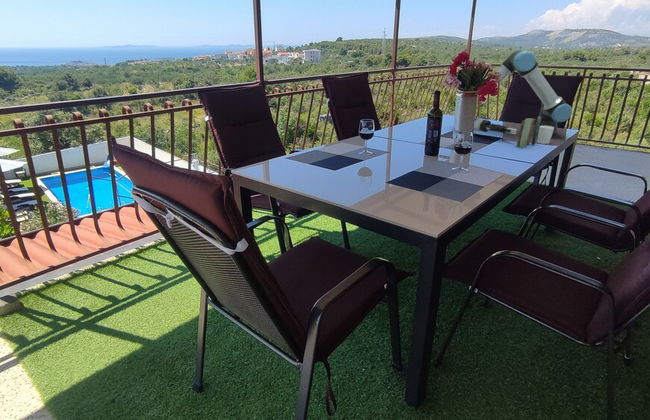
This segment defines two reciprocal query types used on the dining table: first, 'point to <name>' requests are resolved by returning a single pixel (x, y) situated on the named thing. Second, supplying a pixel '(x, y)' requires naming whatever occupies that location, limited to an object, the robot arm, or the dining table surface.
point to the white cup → (545, 134)
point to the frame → (526, 132)
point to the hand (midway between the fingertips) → (516, 131)
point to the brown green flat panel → (529, 132)
